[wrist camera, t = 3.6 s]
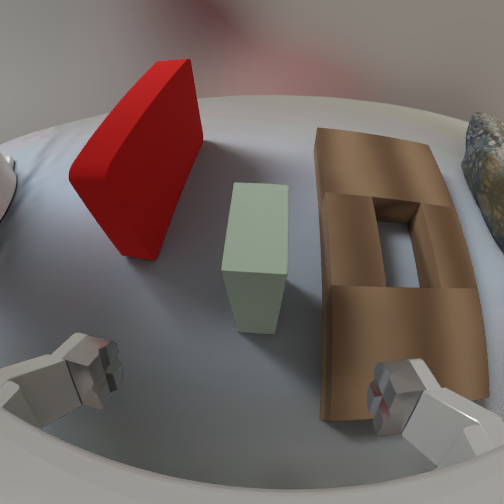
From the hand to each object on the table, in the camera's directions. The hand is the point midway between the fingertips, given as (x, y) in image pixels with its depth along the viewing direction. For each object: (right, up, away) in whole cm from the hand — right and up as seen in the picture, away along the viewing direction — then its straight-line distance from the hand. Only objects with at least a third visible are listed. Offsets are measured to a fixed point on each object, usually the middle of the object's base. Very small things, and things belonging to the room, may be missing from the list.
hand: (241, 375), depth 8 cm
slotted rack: (+12, +3, +14) cm, 18 cm away
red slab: (-7, +9, +18) cm, 21 cm away
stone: (+30, +10, +18) cm, 36 cm away
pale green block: (+1, 0, +12) cm, 12 cm away
